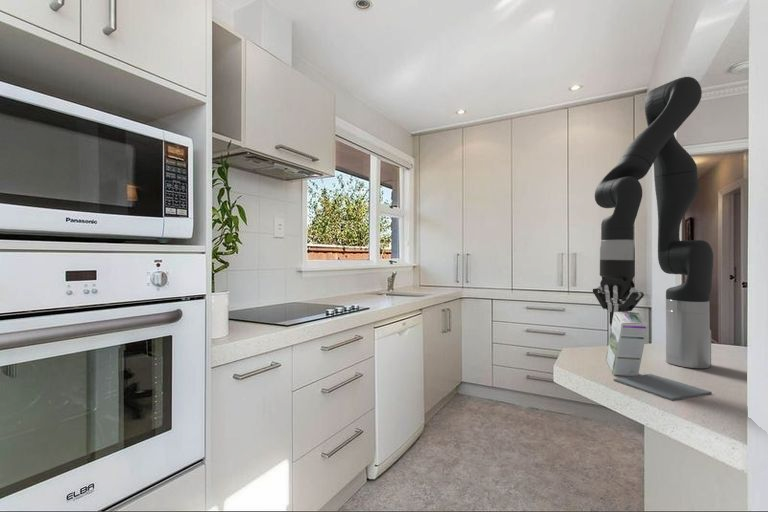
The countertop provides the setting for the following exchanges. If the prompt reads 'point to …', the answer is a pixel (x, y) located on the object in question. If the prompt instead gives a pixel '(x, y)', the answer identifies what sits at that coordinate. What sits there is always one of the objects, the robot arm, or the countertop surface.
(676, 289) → the robot arm
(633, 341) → the syrup box
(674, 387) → the mat
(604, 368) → the countertop surface
